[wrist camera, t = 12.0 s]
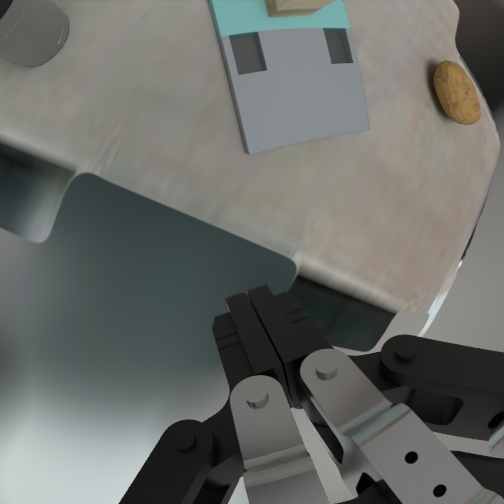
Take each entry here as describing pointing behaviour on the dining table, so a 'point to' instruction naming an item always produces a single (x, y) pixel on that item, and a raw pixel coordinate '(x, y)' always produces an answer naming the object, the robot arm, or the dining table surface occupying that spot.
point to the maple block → (294, 7)
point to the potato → (456, 93)
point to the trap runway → (290, 73)
